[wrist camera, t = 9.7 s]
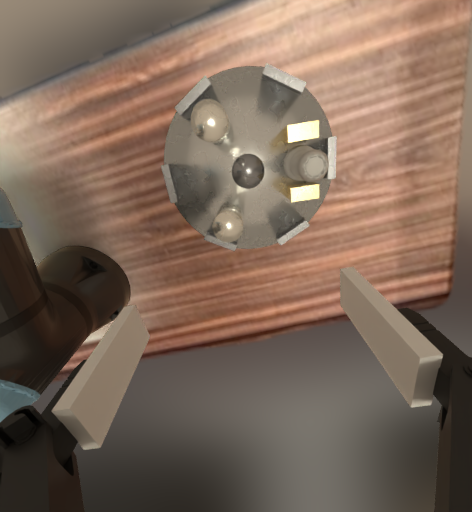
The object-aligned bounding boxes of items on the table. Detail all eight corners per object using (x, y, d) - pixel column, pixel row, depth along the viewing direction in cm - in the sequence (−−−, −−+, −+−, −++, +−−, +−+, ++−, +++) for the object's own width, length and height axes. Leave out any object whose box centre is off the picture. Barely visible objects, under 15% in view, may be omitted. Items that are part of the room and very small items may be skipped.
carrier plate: (188, 253, 39) (178, 271, 33) (146, 89, 29) (121, 74, 23) (329, 235, 37) (345, 251, 31) (331, 52, 27) (356, 25, 21)
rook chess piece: (282, 146, 30) (293, 145, 23) (317, 142, 30) (340, 140, 23) (282, 182, 32) (293, 191, 25) (315, 178, 32) (336, 187, 24)
